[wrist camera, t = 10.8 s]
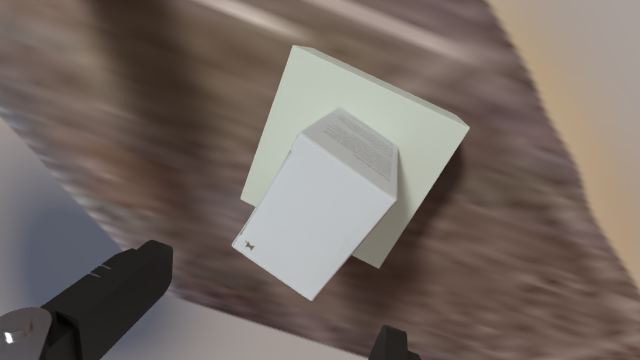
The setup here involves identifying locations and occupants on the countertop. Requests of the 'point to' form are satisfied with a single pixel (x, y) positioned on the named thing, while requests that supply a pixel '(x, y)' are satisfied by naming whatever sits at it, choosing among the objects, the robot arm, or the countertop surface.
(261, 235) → the small box
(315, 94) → the block
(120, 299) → the robot arm
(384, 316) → the countertop surface
